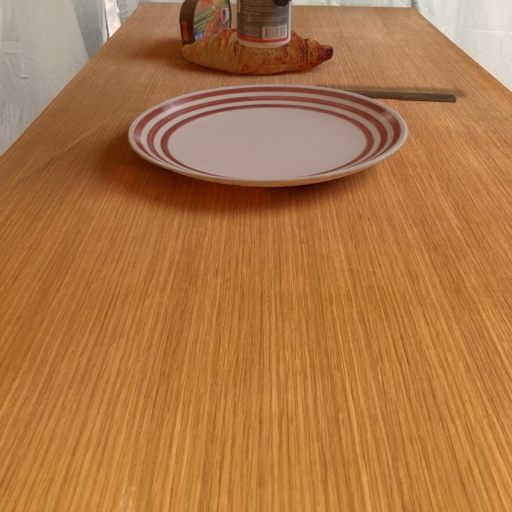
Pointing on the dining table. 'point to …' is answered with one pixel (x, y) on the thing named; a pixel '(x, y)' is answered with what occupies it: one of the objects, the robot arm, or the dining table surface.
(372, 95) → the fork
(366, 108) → the dinner plate
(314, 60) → the croissant
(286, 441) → the dining table surface
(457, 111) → the dining table surface
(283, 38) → the pill bottle
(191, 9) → the tin
